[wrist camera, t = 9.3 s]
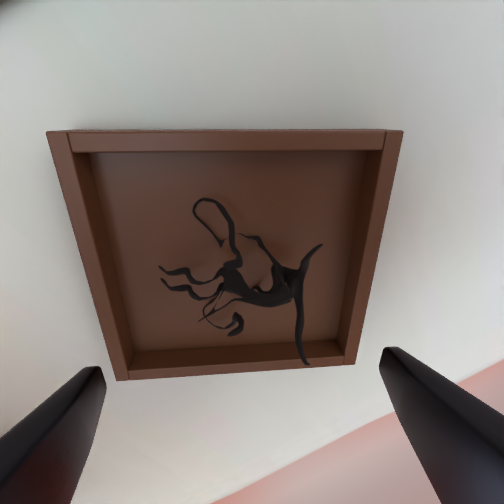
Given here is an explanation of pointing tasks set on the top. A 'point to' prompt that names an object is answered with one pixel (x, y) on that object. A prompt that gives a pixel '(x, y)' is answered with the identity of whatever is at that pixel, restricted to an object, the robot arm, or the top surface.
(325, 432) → the top surface
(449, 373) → the top surface
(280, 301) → the creature
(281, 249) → the tray
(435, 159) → the top surface
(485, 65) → the top surface
